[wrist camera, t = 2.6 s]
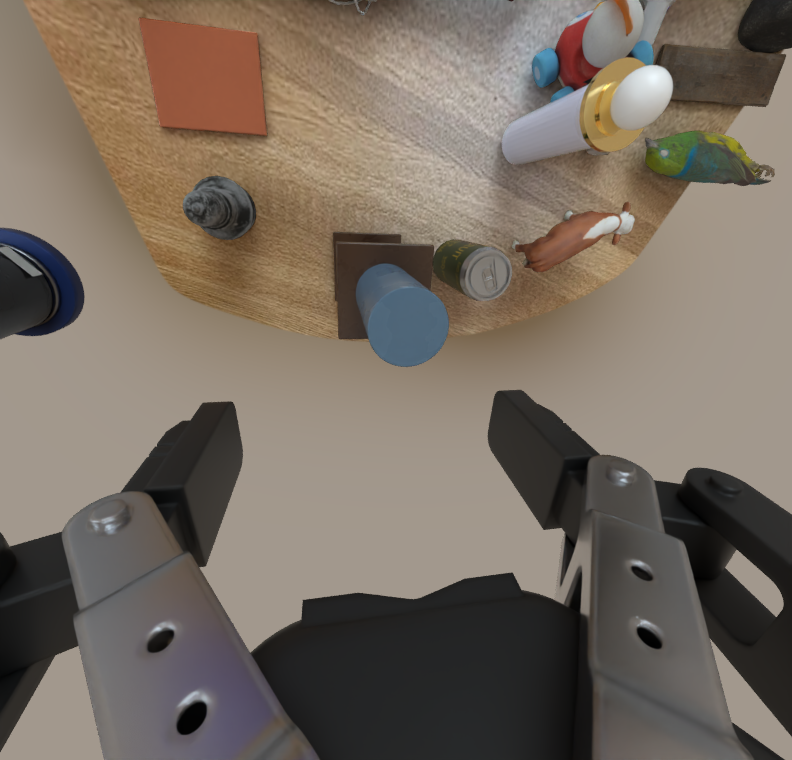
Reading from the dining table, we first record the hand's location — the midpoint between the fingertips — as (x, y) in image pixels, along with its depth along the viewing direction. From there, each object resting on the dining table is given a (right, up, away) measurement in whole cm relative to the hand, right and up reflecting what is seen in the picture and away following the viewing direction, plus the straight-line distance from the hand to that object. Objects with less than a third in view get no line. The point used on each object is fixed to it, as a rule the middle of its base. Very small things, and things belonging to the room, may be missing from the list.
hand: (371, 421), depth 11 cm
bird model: (+40, +31, +31) cm, 59 cm away
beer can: (+8, +17, +35) cm, 40 cm away
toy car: (+21, +34, +27) cm, 48 cm away
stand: (-3, +15, +33) cm, 37 cm away
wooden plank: (+38, +39, +29) cm, 62 cm away
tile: (-17, +30, +23) cm, 42 cm away
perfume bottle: (+15, +29, +30) cm, 44 cm away
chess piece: (-18, +20, +28) cm, 39 cm away
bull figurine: (+21, +20, +36) cm, 46 cm away
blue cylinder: (0, +9, +19) cm, 21 cm away
